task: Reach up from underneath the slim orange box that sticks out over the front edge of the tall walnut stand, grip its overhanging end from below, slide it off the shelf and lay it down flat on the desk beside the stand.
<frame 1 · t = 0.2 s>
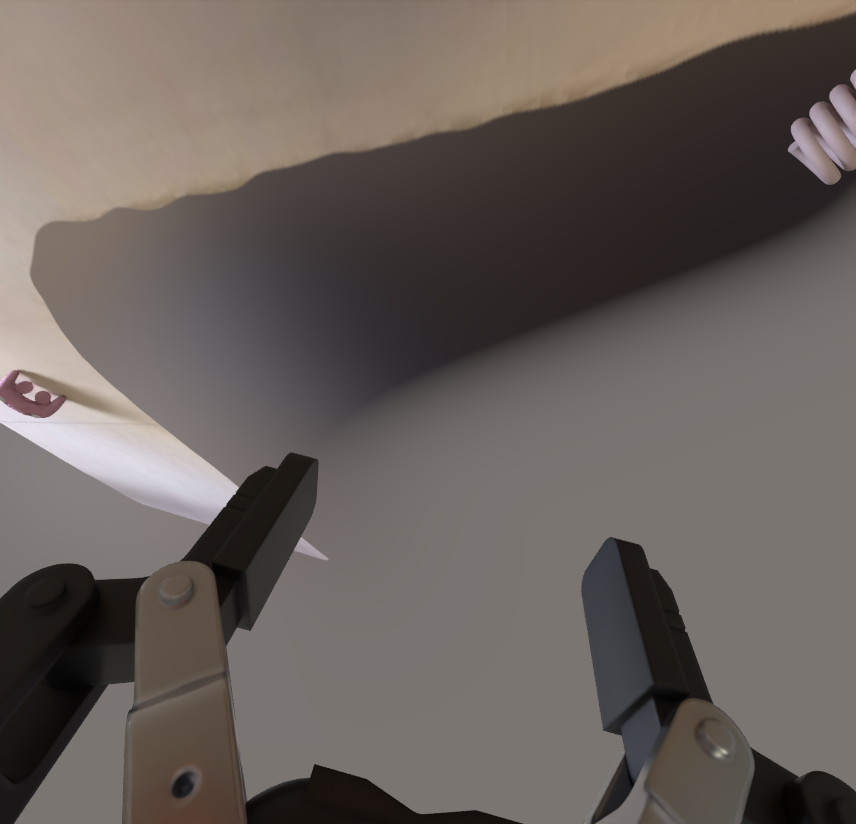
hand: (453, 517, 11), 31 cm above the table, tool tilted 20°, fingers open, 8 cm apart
video game controller: (40, 385, 85), on the table
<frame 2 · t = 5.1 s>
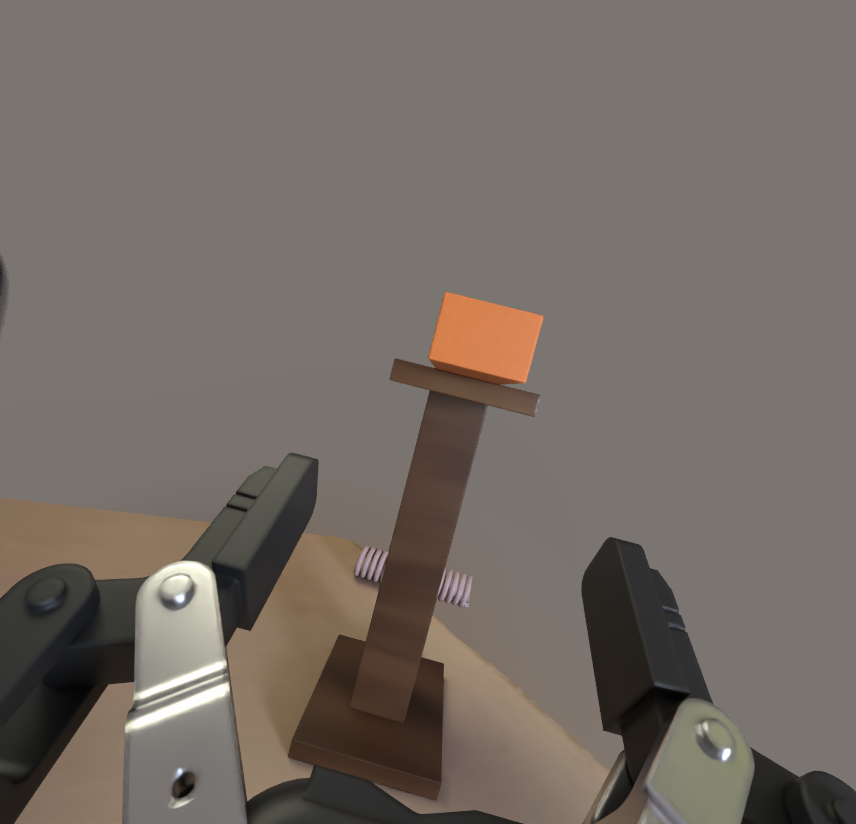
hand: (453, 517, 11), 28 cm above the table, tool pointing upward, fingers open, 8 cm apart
orange box: (465, 377, 31), point 32 cm above the table, touching walnut stand
coil: (410, 591, 63), on the table
walnut stand: (377, 709, 39), on the table
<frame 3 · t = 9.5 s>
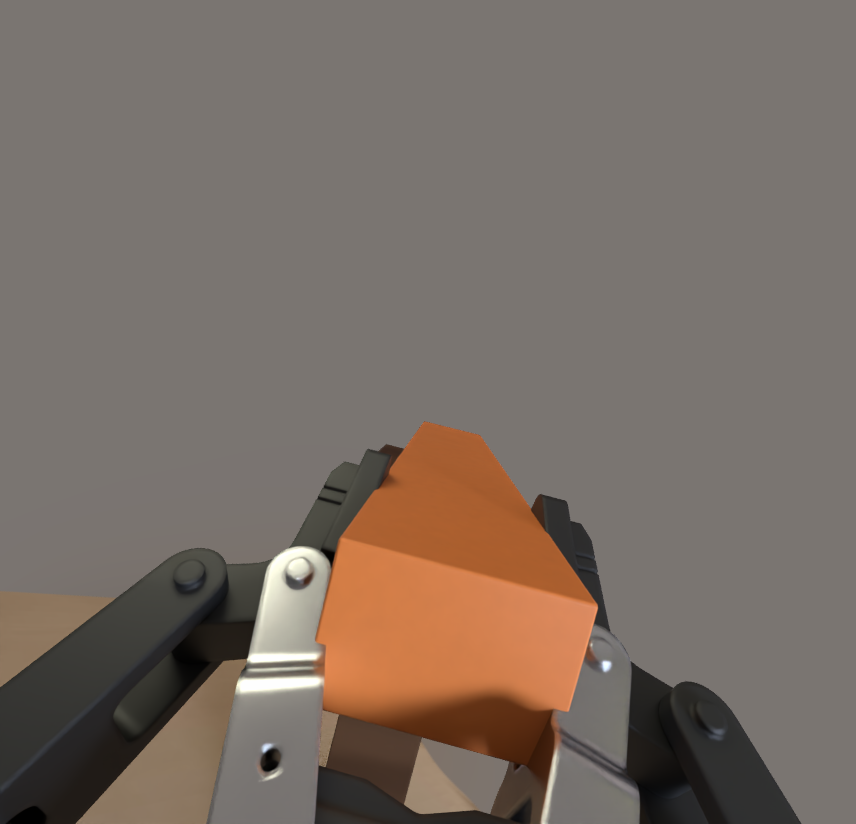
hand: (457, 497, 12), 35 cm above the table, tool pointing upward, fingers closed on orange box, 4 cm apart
orange box: (439, 515, 20), point 32 cm above the table, touching gripper, walnut stand
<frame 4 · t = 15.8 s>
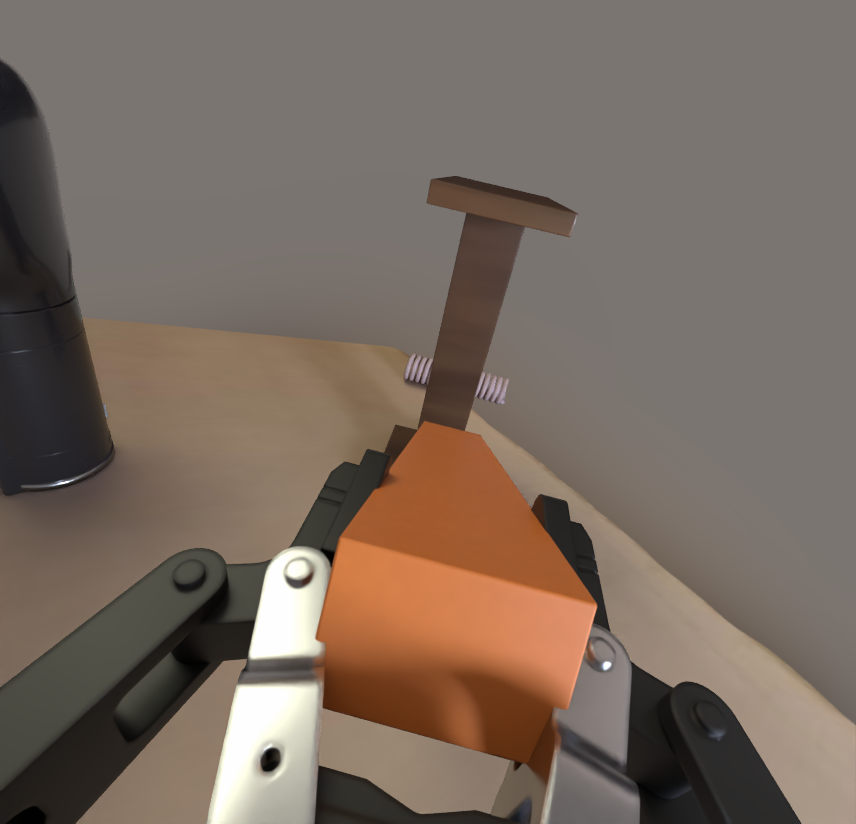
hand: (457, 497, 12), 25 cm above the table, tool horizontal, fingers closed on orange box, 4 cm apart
orange box: (439, 515, 20), point 19 cm above the table, tilted 27°, touching gripper
coil: (453, 391, 73), on the table
walnut stand: (428, 475, 52), on the table
when the fingers open (12 cm above the table, at t = 20.0 s): orange box drops 6 cm, on the table.
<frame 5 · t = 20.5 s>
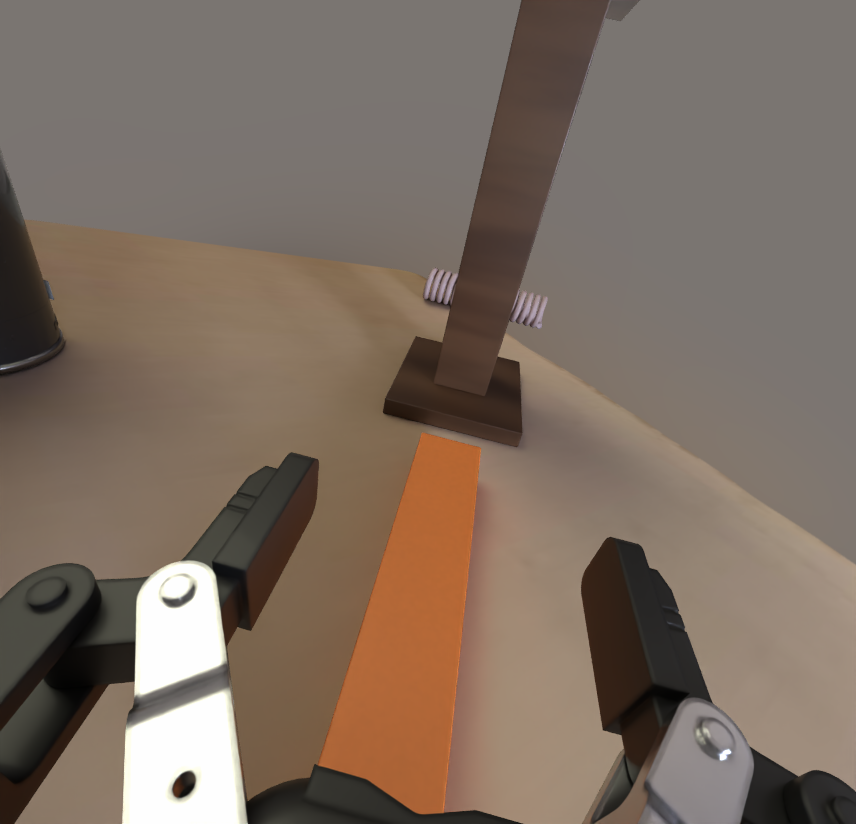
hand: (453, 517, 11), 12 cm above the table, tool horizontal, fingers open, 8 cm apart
orange box: (409, 627, 21), on the table
coil: (480, 314, 62), on the table
walnut stand: (457, 390, 42), on the table
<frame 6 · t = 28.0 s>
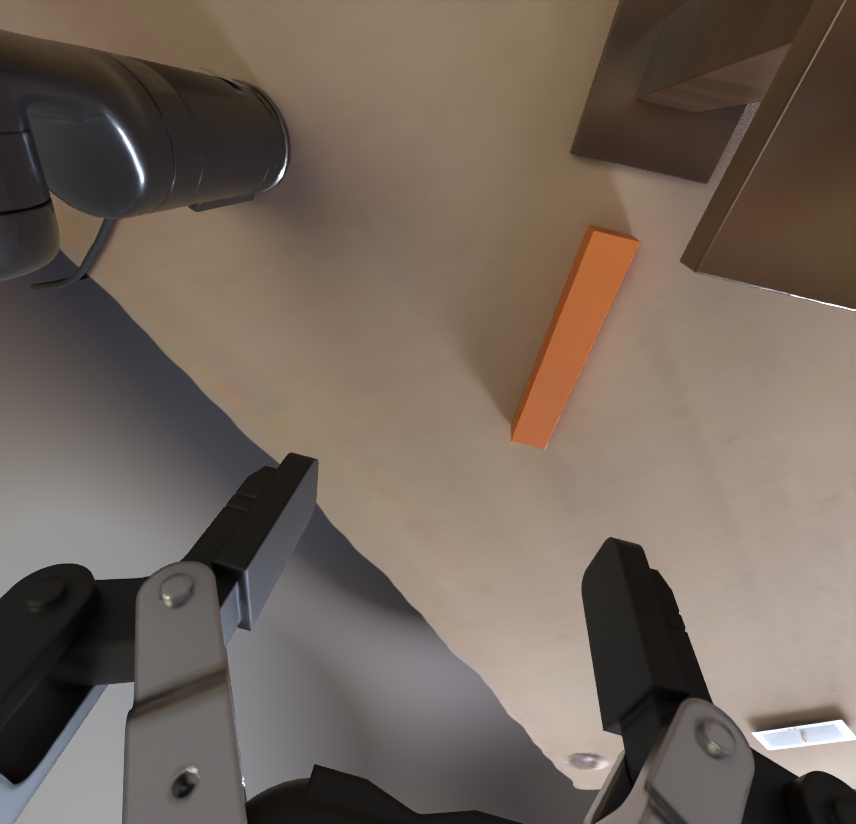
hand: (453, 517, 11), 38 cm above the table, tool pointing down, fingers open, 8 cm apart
white framed picture: (799, 728, 81), on the table
orange box: (562, 345, 48), on the table
walnut stand: (674, 69, 34), on the table
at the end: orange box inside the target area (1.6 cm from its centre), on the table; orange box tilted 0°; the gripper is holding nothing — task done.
